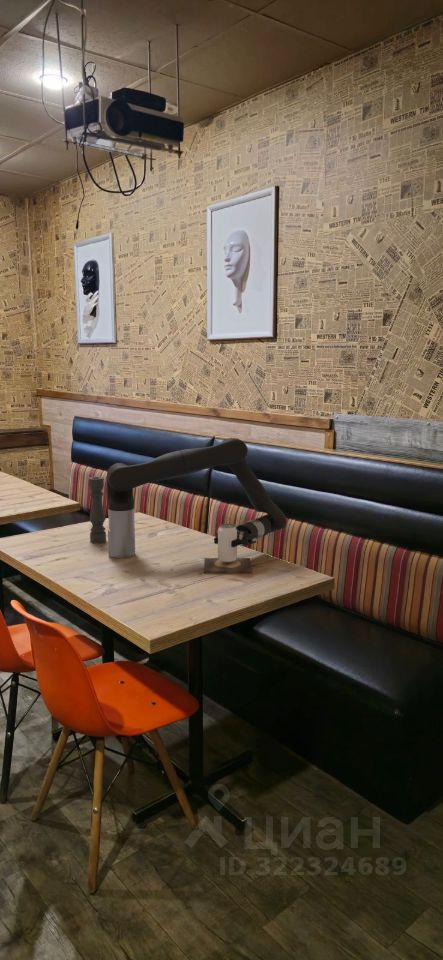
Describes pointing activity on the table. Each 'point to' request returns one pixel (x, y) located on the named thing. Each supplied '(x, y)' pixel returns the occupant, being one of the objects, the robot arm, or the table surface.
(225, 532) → the can
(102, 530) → the candle holder
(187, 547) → the table surface
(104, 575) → the table surface
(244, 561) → the rest board
